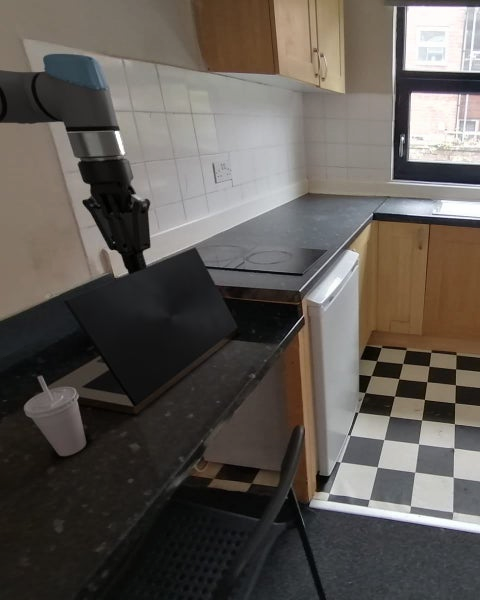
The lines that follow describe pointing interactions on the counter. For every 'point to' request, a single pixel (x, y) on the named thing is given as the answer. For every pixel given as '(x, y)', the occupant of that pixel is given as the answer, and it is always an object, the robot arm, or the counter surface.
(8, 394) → the counter surface
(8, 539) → the counter surface
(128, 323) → the laptop screen
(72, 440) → the smoothie
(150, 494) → the counter surface
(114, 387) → the laptop
